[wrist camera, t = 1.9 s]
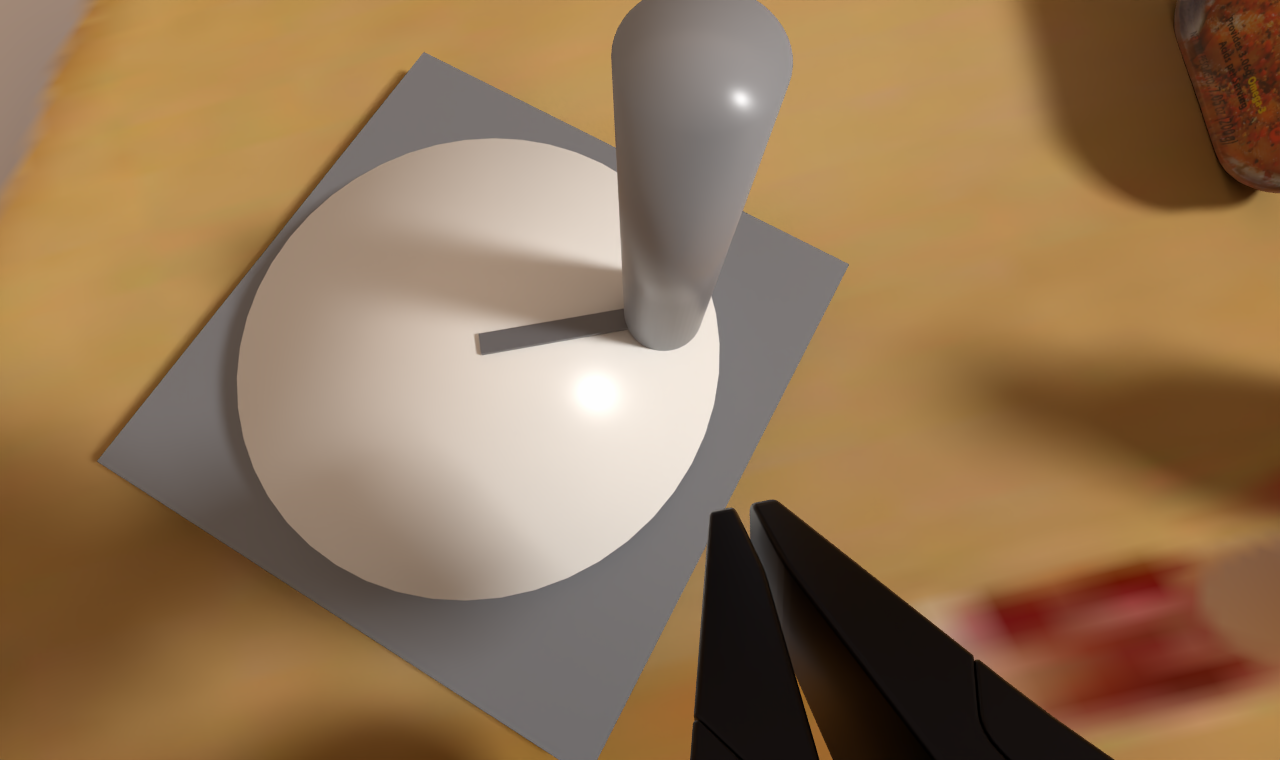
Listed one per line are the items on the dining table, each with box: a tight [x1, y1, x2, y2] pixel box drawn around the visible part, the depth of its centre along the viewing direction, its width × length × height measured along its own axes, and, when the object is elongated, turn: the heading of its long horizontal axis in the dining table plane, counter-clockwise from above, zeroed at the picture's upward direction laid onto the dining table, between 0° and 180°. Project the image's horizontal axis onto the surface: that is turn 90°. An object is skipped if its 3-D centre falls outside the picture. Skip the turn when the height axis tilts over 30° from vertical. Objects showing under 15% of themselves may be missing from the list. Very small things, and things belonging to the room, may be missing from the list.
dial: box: [237, 0, 793, 601], centre depth 15 cm, size 18×18×14 cm
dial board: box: [97, 52, 849, 760], centre depth 22 cm, size 22×22×2 cm
